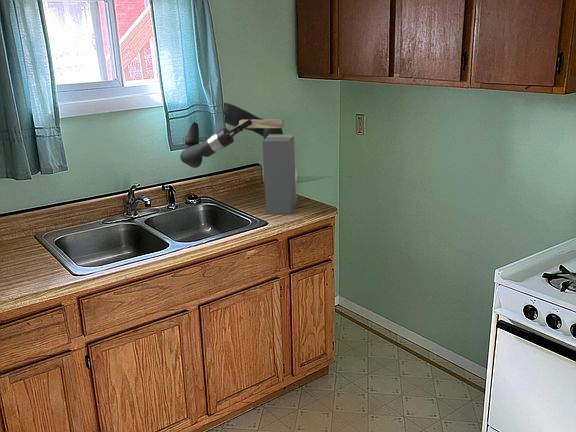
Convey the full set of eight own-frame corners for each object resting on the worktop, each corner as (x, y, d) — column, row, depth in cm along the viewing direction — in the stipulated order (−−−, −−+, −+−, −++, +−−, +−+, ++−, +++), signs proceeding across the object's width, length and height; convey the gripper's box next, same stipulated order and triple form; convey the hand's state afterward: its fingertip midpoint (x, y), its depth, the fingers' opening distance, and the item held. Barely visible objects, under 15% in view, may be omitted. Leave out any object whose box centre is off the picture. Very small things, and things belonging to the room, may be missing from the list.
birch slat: (241, 126, 259) (241, 119, 258) (284, 126, 256) (283, 119, 255) (239, 128, 255) (238, 121, 254) (282, 127, 252) (282, 120, 251)
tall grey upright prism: (272, 204, 269) (269, 134, 259) (296, 205, 267) (293, 134, 257) (265, 214, 256) (262, 140, 246) (290, 214, 254) (288, 140, 244)
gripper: (211, 135, 253) (243, 115, 248) (220, 130, 267) (251, 110, 261) (220, 150, 255) (253, 130, 249) (229, 144, 268) (260, 125, 263)
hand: (252, 120), depth 255 cm, fingers closed on birch slat, 4 cm apart
